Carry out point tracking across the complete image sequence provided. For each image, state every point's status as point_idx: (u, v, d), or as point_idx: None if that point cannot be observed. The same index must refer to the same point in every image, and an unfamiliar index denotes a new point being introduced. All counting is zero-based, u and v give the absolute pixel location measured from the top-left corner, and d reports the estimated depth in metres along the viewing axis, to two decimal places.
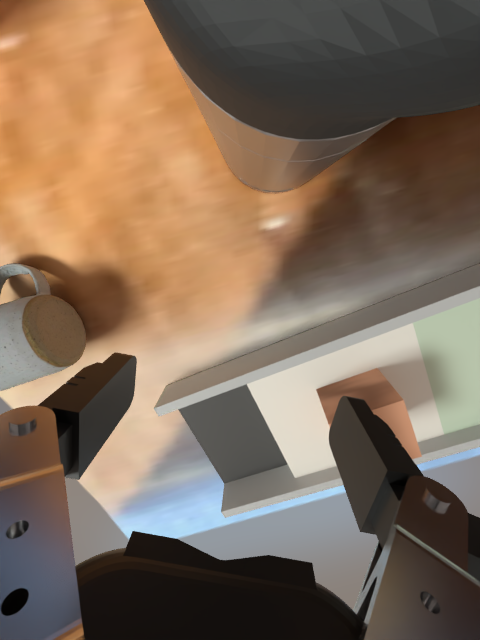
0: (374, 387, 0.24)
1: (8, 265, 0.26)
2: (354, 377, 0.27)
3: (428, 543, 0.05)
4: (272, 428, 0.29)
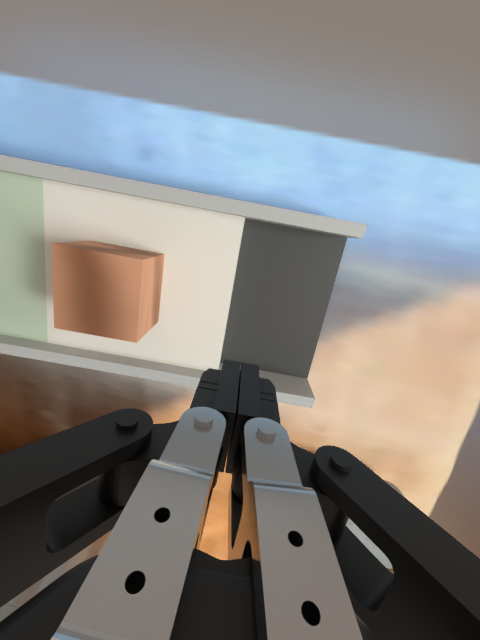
0: None
1: None
2: None
3: (273, 478, 0.06)
4: (226, 303, 0.24)
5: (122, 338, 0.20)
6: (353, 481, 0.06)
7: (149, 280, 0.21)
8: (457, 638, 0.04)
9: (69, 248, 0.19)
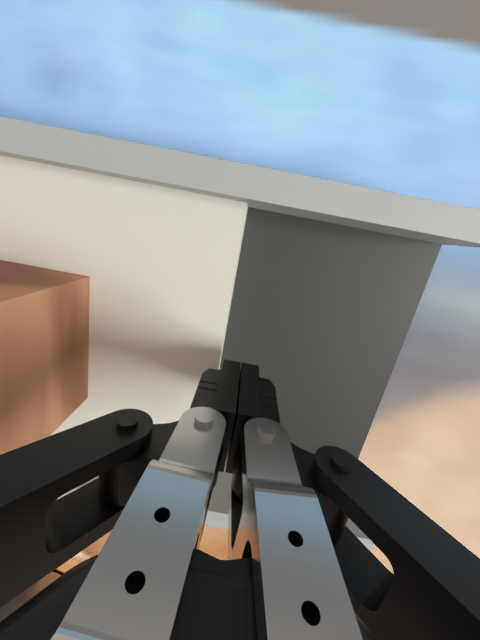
0: None
1: None
2: None
3: (273, 478, 0.06)
4: None
5: None
6: (353, 481, 0.06)
7: (36, 340, 0.09)
8: (457, 638, 0.04)
9: None
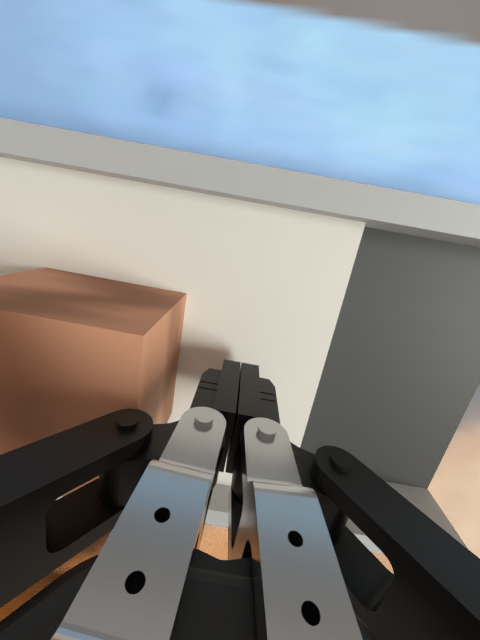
0: None
1: None
2: None
3: (273, 478, 0.06)
4: (311, 385, 0.13)
5: None
6: (353, 481, 0.06)
7: (159, 362, 0.09)
8: (457, 638, 0.04)
9: None
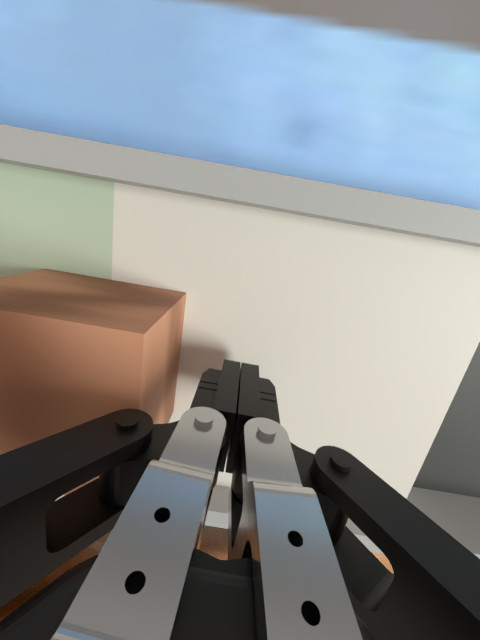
0: None
1: None
2: None
3: (273, 478, 0.06)
4: (441, 409, 0.13)
5: None
6: (353, 481, 0.06)
7: (160, 360, 0.09)
8: (457, 638, 0.04)
9: None
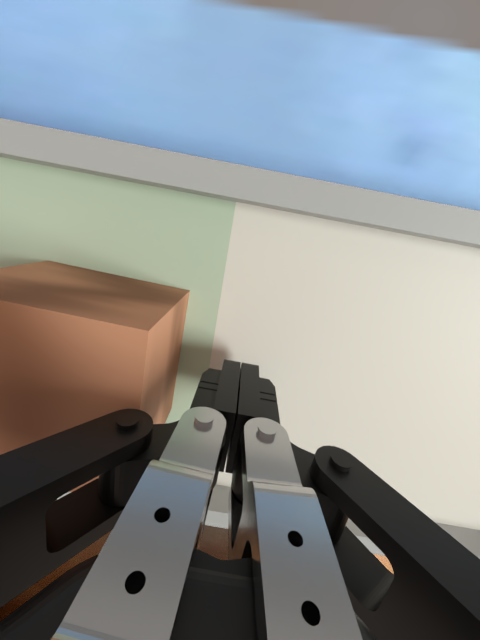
0: None
1: None
2: None
3: (273, 478, 0.06)
4: None
5: None
6: (353, 481, 0.06)
7: (162, 358, 0.09)
8: (457, 638, 0.04)
9: None
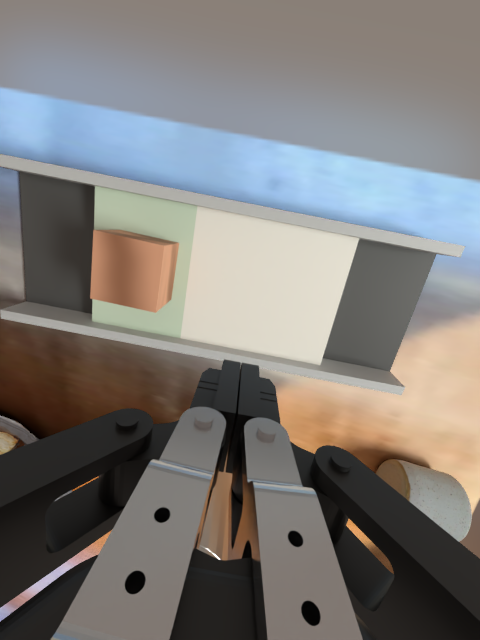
0: None
1: None
2: None
3: (273, 478, 0.06)
4: (334, 308, 0.30)
5: (144, 308, 0.25)
6: (353, 481, 0.06)
7: (167, 262, 0.26)
8: (457, 638, 0.04)
9: (106, 234, 0.24)
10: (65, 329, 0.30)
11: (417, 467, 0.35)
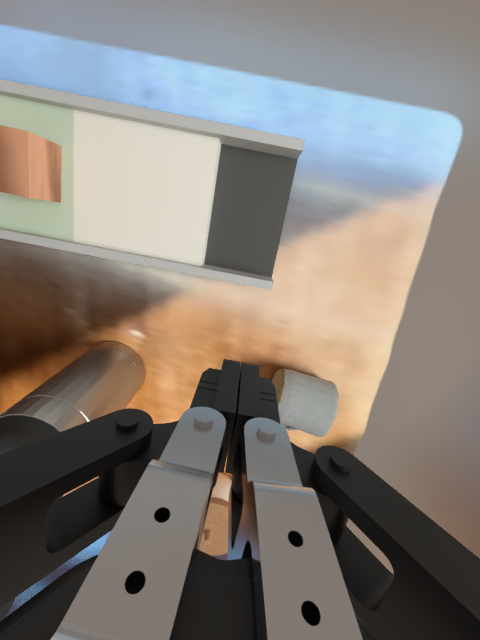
0: None
1: None
2: None
3: (273, 478, 0.06)
4: (206, 208, 0.33)
5: (18, 194, 0.29)
6: (353, 481, 0.06)
7: (41, 155, 0.29)
8: (457, 638, 0.04)
9: None
10: None
11: (298, 372, 0.39)
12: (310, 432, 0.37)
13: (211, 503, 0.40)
